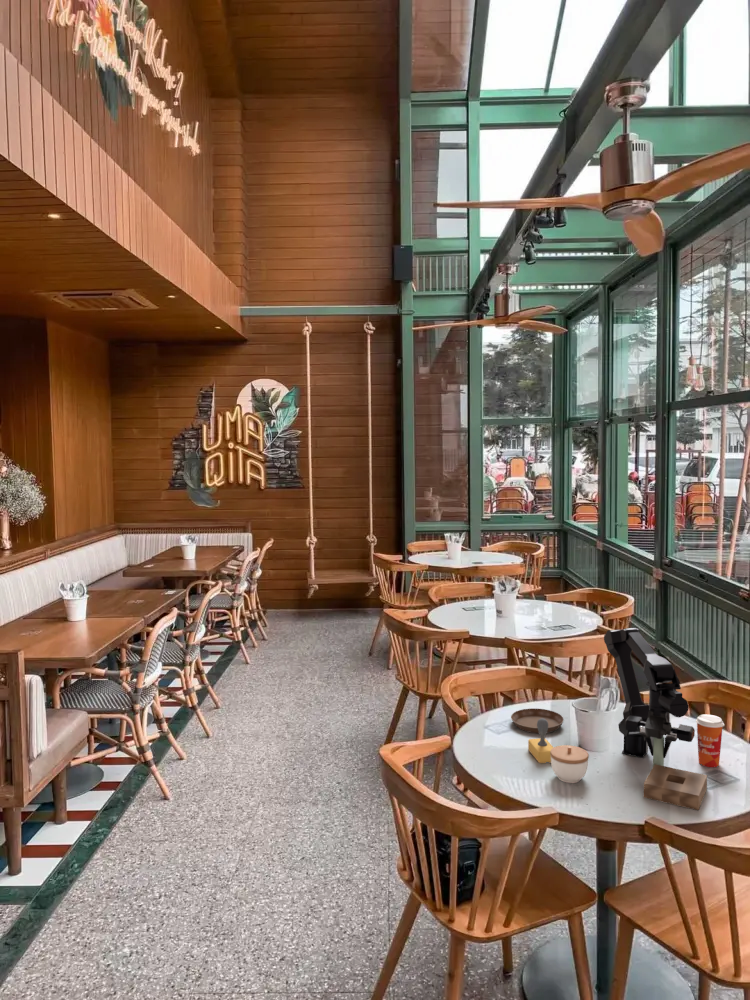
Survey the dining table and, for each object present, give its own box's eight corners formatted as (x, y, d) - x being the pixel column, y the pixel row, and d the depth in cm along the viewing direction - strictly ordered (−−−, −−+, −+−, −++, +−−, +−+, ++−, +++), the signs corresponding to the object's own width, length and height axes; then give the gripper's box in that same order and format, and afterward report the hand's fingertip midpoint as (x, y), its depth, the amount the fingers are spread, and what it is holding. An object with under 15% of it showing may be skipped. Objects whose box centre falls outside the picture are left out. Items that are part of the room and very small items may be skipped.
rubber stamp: (557, 762, 227) (557, 723, 227) (538, 763, 227) (538, 725, 226) (545, 748, 237) (545, 712, 236) (527, 750, 237) (528, 713, 236)
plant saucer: (524, 738, 246) (524, 729, 246) (502, 719, 263) (502, 711, 263) (573, 732, 250) (573, 724, 250) (548, 714, 267) (548, 706, 267)
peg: (651, 770, 220) (652, 737, 219) (654, 766, 222) (654, 734, 222) (662, 772, 218) (663, 739, 217) (664, 768, 221) (665, 736, 220)
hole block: (643, 797, 204) (643, 783, 204) (654, 777, 216) (654, 764, 216) (698, 810, 197) (698, 795, 197) (706, 789, 209) (707, 775, 208)
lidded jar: (569, 790, 209) (570, 758, 208) (542, 776, 218) (542, 745, 217) (596, 780, 215) (596, 749, 214) (568, 767, 224) (568, 736, 223)
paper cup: (691, 764, 225) (692, 718, 224) (700, 755, 230) (701, 711, 229) (718, 771, 219) (719, 725, 218) (726, 763, 225) (728, 718, 224)
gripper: (620, 707, 217) (619, 759, 218) (688, 719, 207) (687, 774, 208) (629, 696, 226) (628, 746, 228) (695, 707, 216) (694, 759, 218)
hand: (658, 756), depth 220 cm, fingers closed on peg, 3 cm apart
